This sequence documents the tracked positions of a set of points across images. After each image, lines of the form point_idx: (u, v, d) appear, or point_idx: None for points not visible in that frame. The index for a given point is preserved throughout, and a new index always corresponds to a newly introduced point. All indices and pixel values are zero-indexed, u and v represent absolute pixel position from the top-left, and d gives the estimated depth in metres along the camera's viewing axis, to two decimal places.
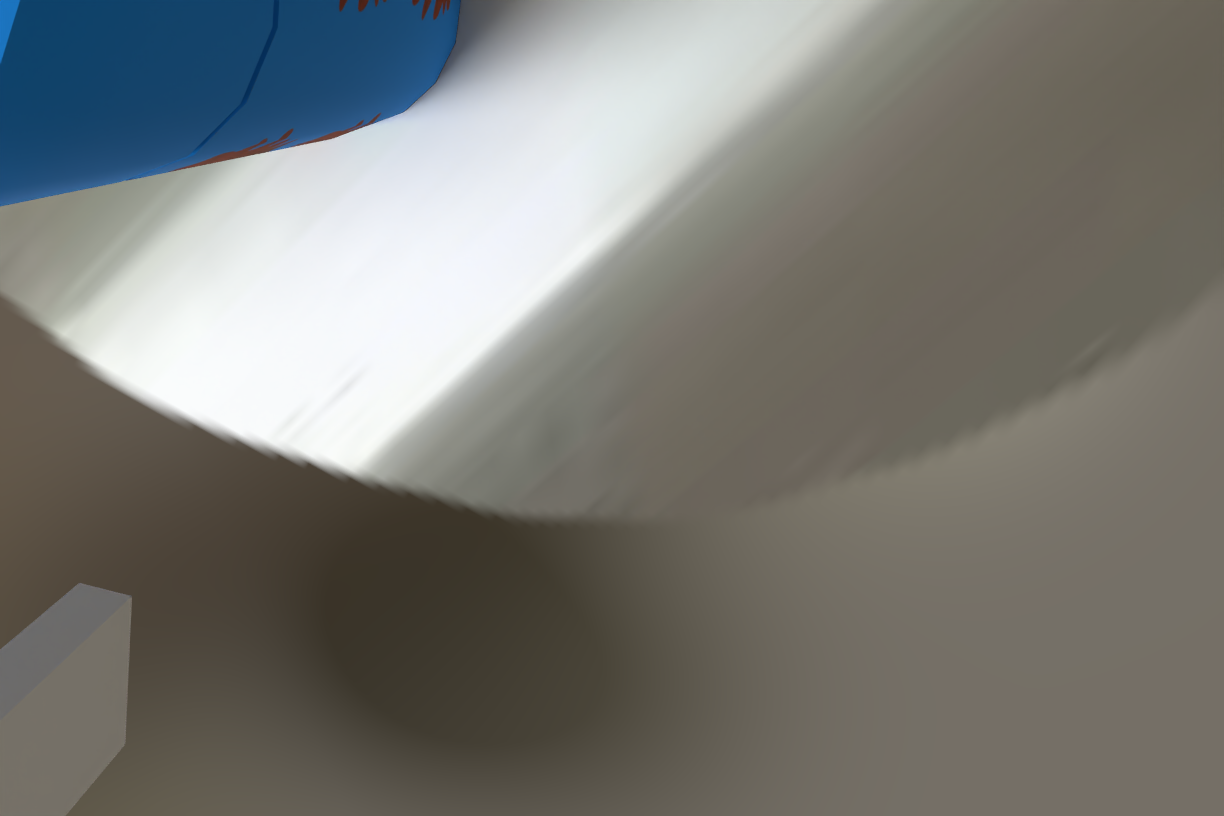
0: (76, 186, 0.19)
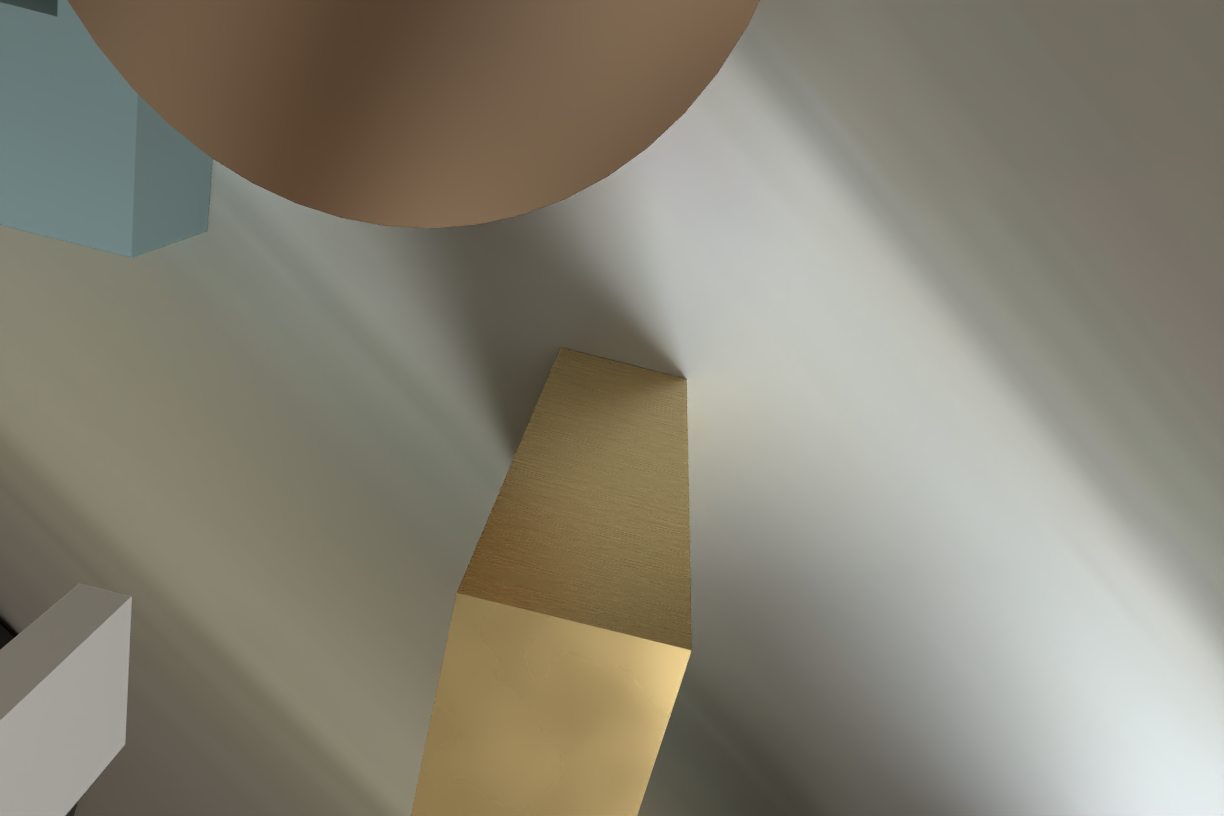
0: None
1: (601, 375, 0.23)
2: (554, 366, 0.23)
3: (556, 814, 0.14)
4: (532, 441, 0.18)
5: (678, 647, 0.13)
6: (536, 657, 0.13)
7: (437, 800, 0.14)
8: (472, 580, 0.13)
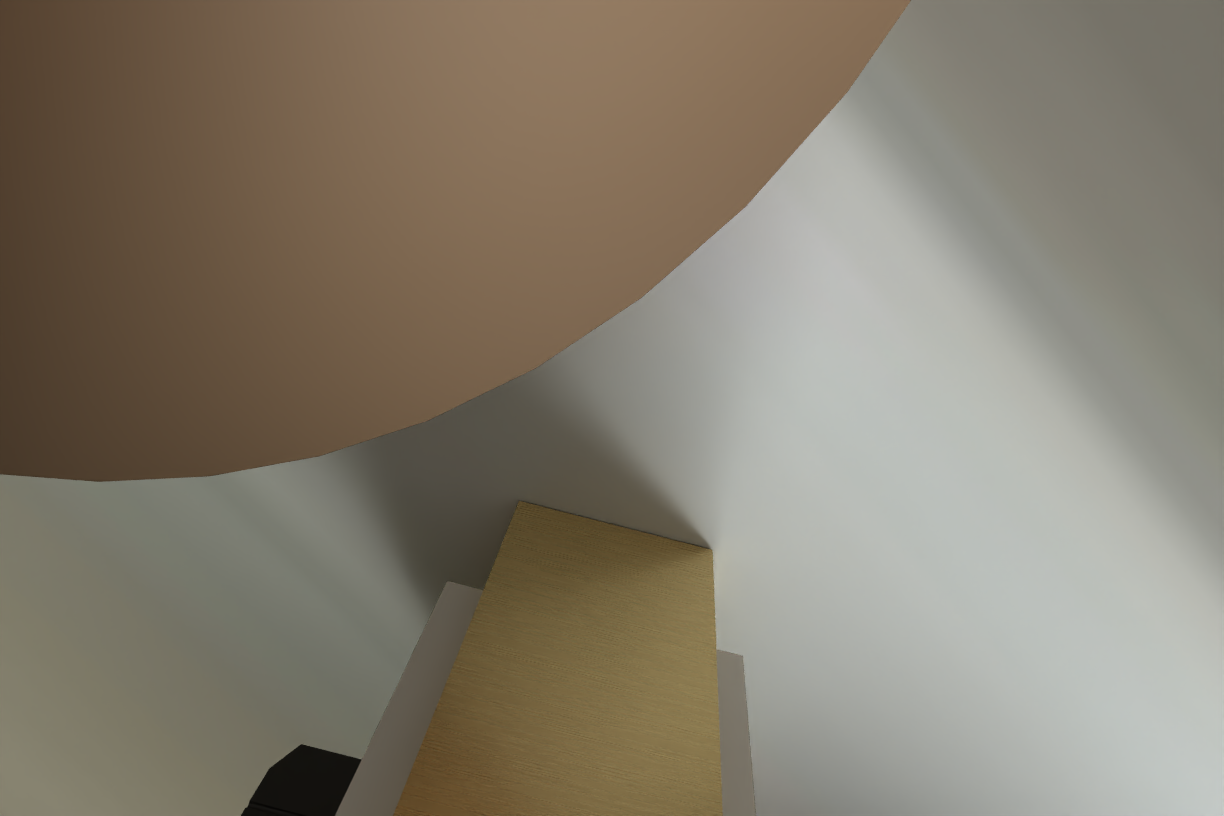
0: None
1: (578, 558, 0.14)
2: (503, 546, 0.14)
3: None
4: (434, 763, 0.10)
5: None
6: None
7: None
8: None
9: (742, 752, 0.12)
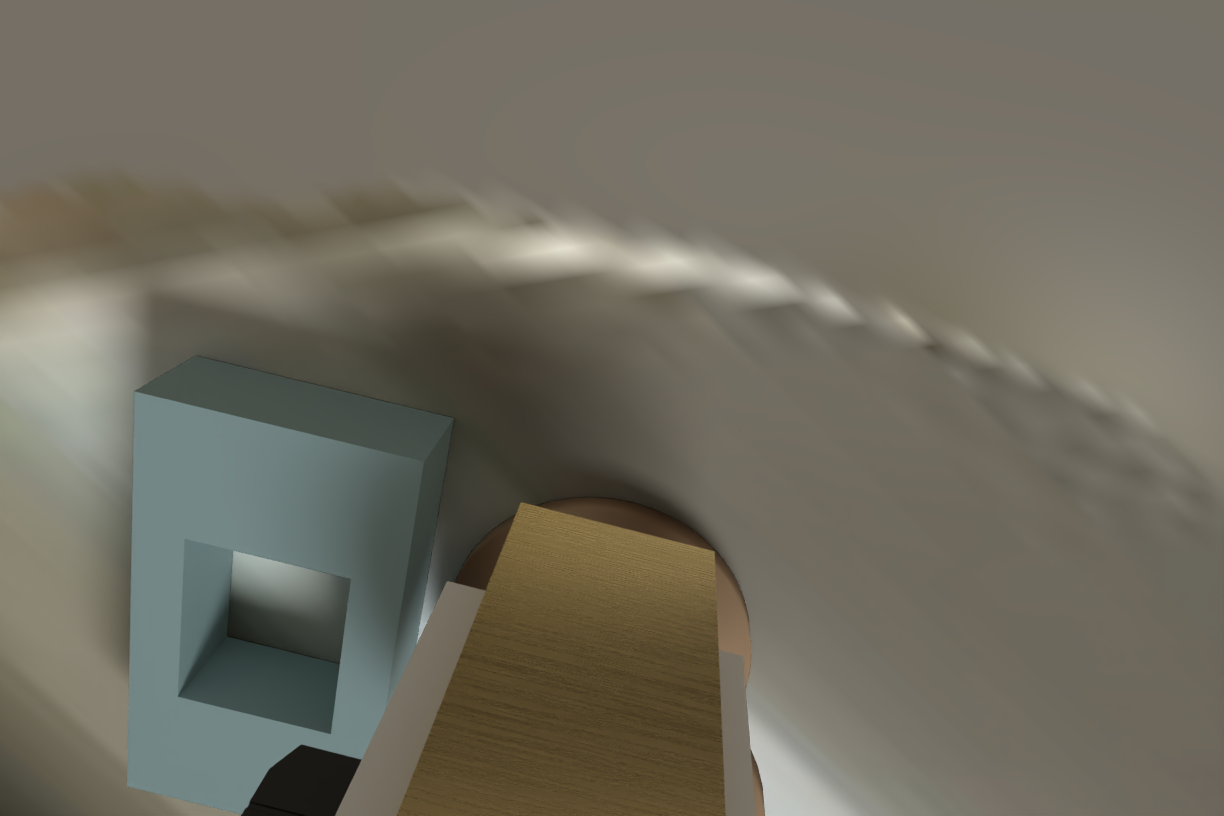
0: None
1: (580, 560, 0.14)
2: (505, 548, 0.14)
3: None
4: (437, 766, 0.10)
5: None
6: None
7: None
8: None
9: (742, 752, 0.12)
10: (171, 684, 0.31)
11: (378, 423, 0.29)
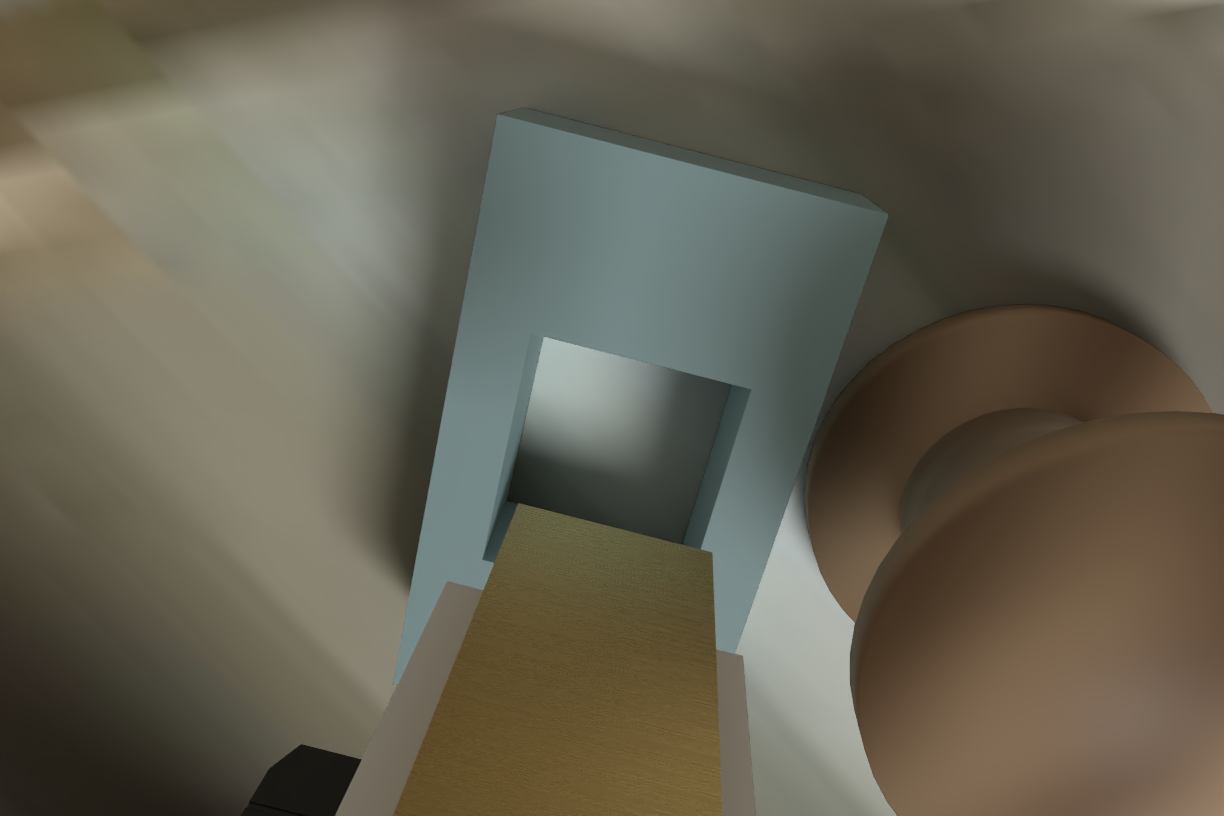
0: None
1: (578, 561, 0.14)
2: (503, 549, 0.14)
3: None
4: (433, 768, 0.10)
5: None
6: None
7: None
8: None
9: (742, 752, 0.12)
10: (476, 542, 0.24)
11: (791, 182, 0.22)
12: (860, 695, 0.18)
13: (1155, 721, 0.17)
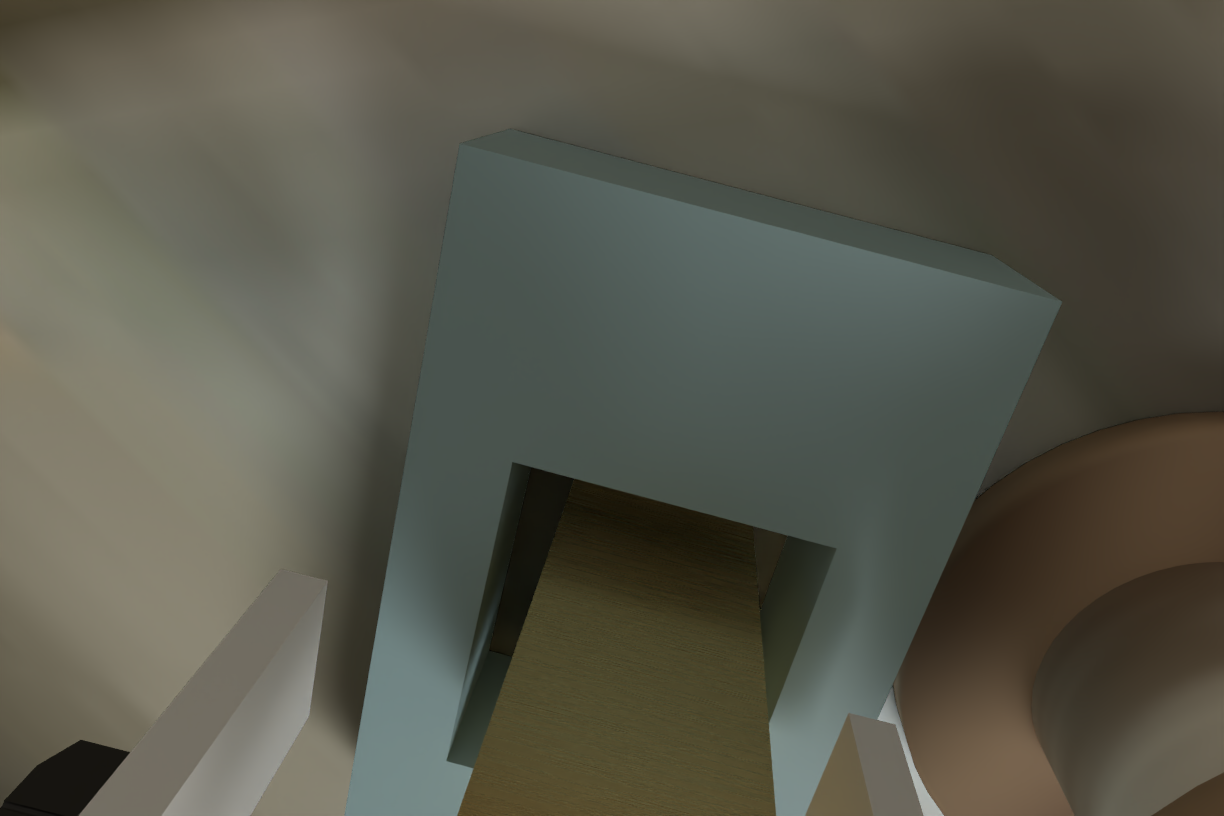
0: None
1: None
2: (575, 482, 0.17)
3: None
4: (539, 628, 0.13)
5: None
6: None
7: None
8: None
9: None
10: (438, 738, 0.17)
11: (899, 243, 0.15)
12: None
13: None
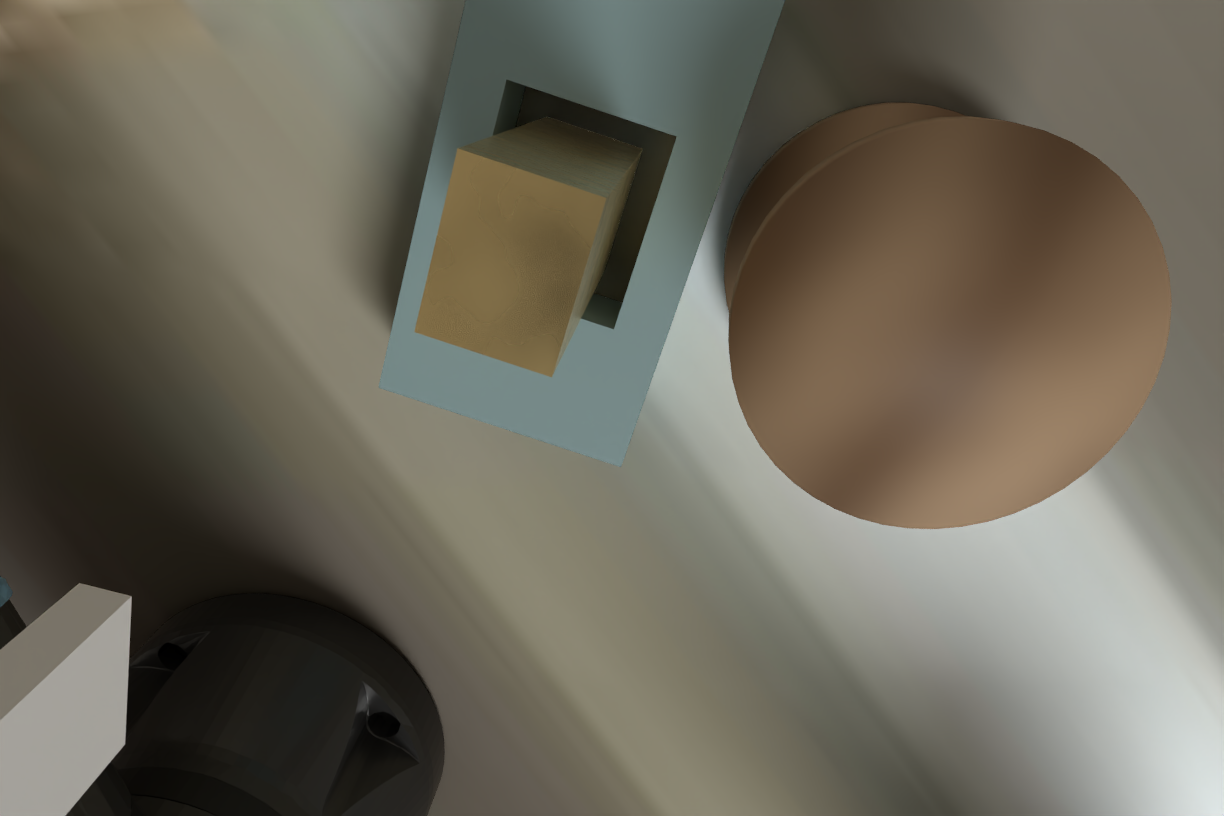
0: None
1: (576, 130, 0.30)
2: (540, 119, 0.30)
3: (512, 328, 0.21)
4: (518, 132, 0.25)
5: (598, 197, 0.20)
6: (506, 200, 0.20)
7: (434, 314, 0.21)
8: (468, 148, 0.20)
9: None
10: None
11: None
12: (730, 331, 0.24)
13: (946, 360, 0.23)
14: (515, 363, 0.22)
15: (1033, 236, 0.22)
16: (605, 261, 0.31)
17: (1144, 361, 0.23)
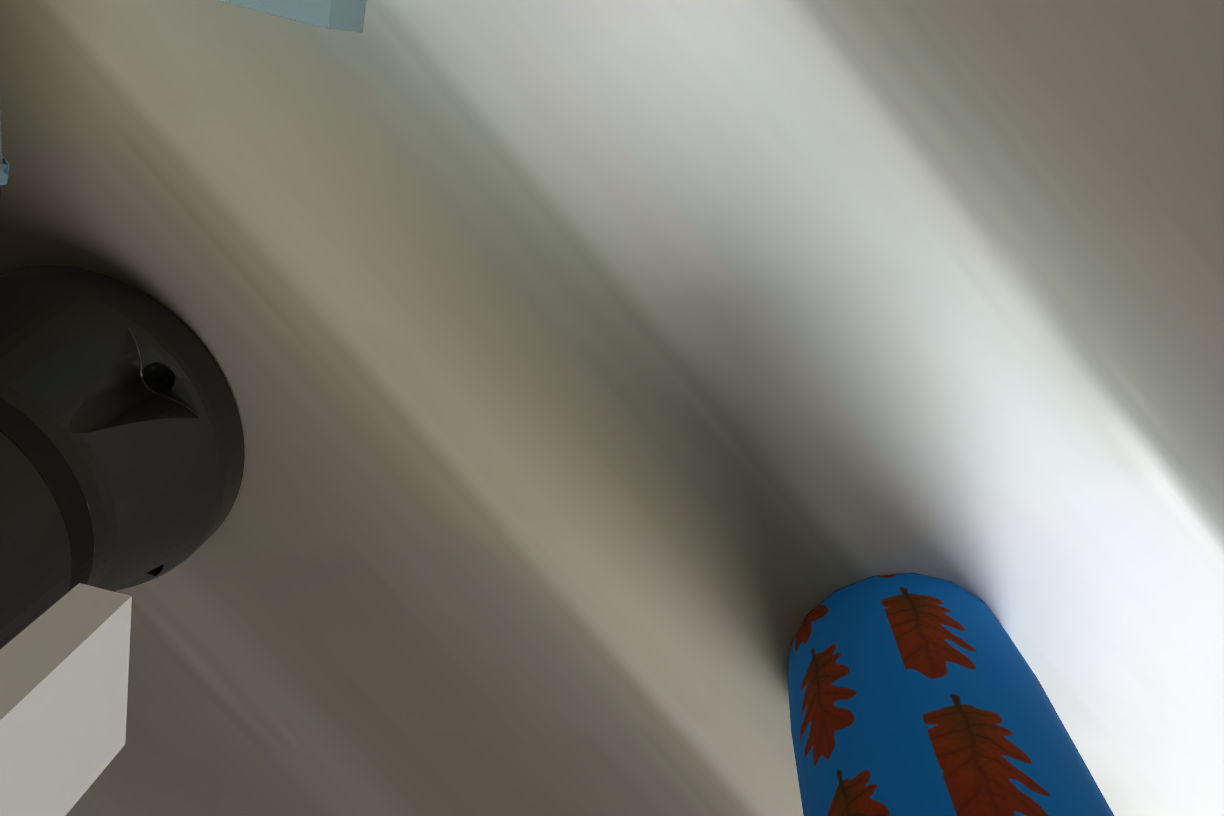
0: None
1: None
2: None
3: None
4: None
5: None
6: None
7: None
8: None
9: None
10: None
11: None
12: None
13: None
14: None
15: None
16: None
17: None
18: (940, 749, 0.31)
